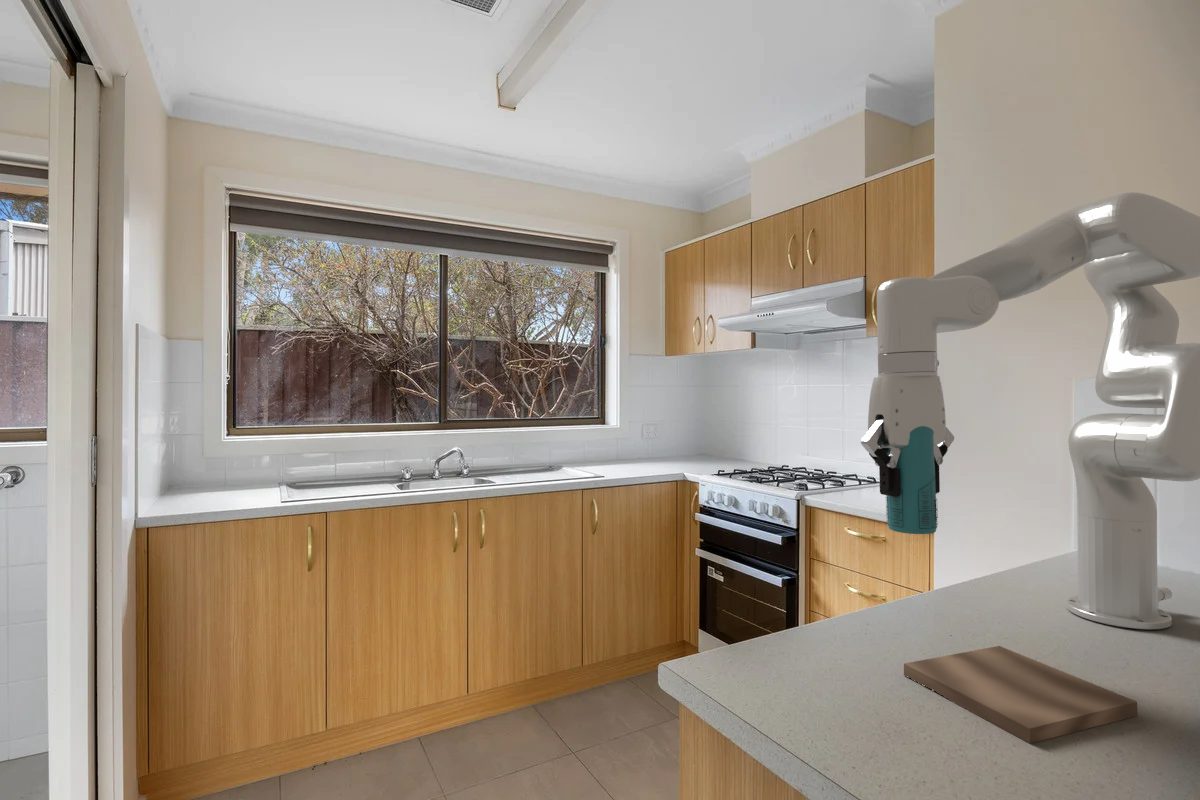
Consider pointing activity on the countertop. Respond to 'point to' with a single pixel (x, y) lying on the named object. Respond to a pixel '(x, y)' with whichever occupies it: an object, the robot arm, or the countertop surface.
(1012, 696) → the walnut board
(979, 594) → the countertop surface
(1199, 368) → the robot arm
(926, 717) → the countertop surface
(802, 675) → the countertop surface
